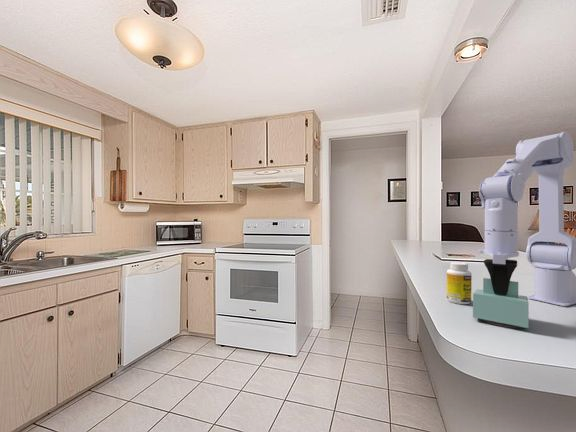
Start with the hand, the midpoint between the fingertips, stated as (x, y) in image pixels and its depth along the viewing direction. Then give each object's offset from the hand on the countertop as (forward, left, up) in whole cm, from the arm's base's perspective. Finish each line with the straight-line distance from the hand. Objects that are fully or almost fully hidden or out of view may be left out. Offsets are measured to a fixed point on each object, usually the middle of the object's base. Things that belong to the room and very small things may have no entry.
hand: (500, 293), depth 60 cm
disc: (0, 0, -6) cm, 6 cm away
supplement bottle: (-4, -12, -6) cm, 14 cm away
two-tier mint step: (0, 0, -5) cm, 5 cm away
